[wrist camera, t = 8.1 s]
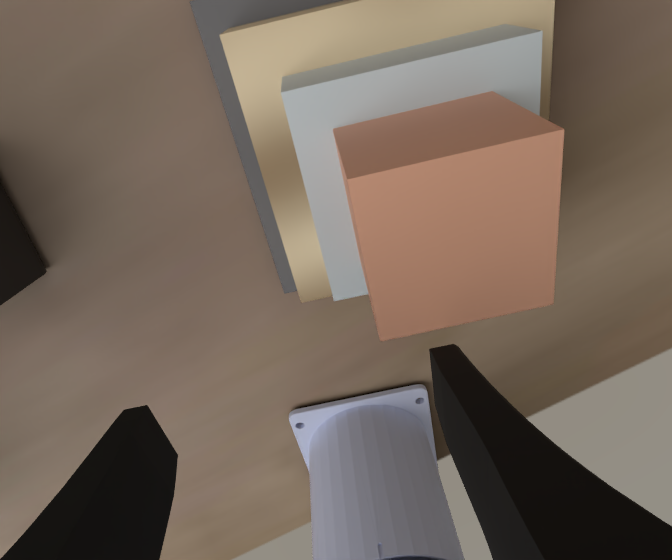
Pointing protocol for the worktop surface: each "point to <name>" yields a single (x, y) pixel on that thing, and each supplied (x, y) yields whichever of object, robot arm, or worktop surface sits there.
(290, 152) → the oak slab
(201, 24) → the rubber mat
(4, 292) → the phone stand
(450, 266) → the terracotta block
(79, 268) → the worktop surface
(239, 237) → the worktop surface
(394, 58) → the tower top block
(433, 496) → the robot arm
